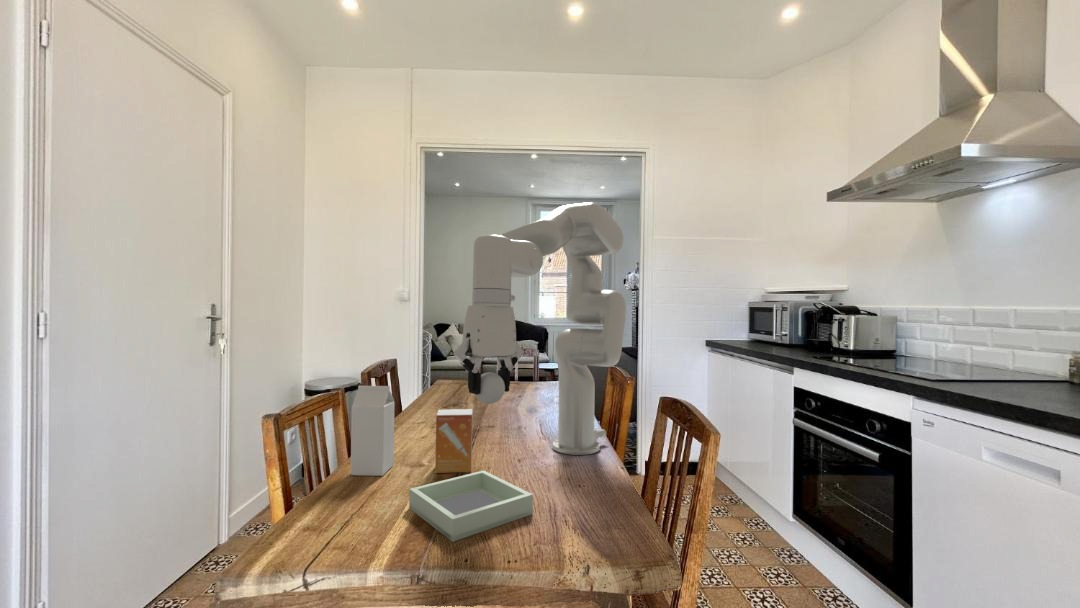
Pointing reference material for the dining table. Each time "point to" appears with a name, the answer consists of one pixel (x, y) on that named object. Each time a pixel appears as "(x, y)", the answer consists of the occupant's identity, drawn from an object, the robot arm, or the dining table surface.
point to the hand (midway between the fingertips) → (489, 391)
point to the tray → (459, 526)
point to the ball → (491, 388)
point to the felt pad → (467, 502)
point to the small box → (453, 441)
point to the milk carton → (372, 431)
